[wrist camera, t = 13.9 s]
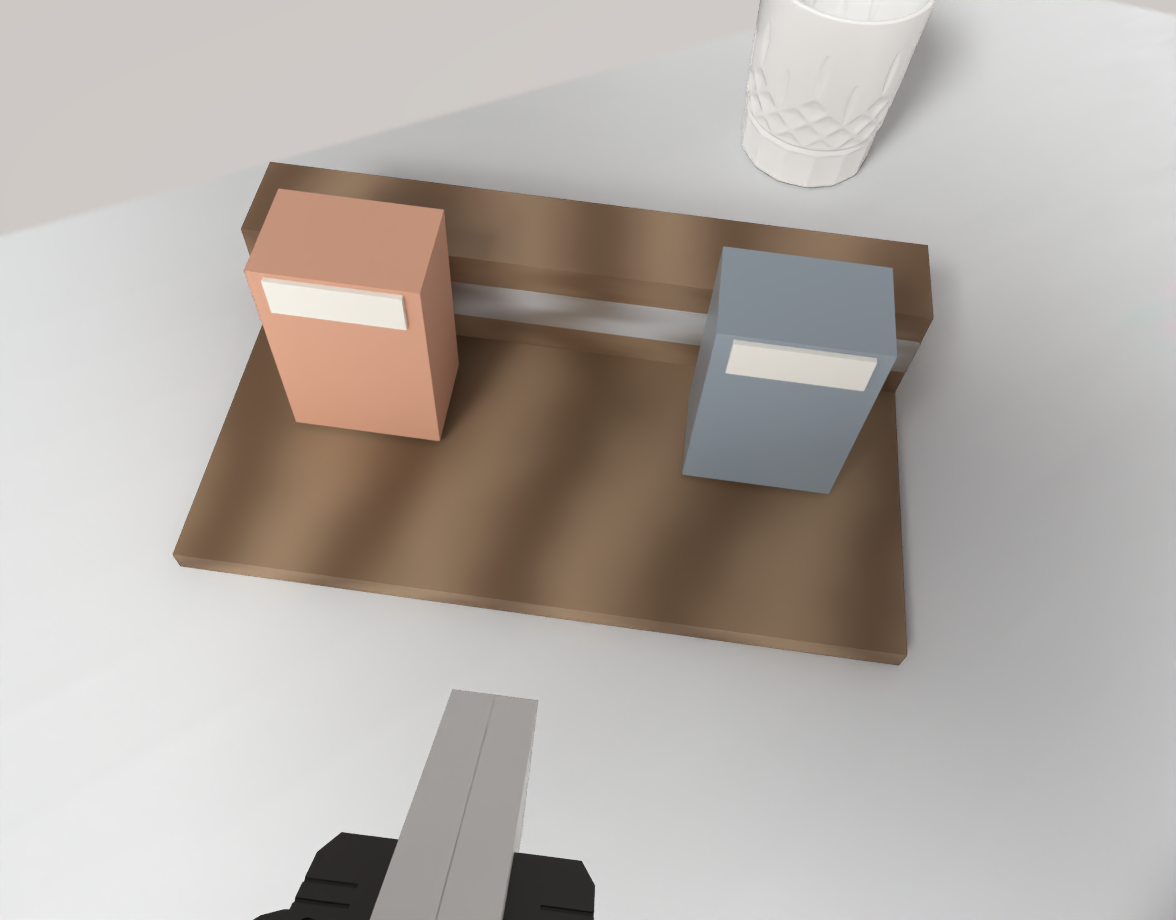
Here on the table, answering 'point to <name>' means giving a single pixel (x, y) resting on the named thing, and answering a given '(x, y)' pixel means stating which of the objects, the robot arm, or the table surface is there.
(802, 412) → the blue gray box
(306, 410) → the salmon orange box
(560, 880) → the robot arm
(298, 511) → the wooden display shelf
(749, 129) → the white cup
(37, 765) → the table surface
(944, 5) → the table surface
